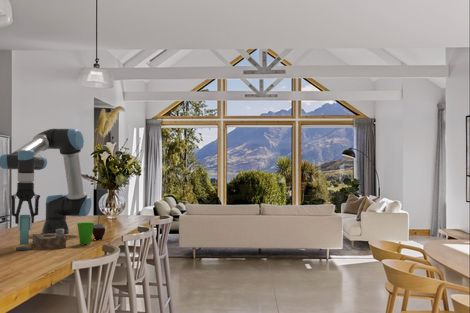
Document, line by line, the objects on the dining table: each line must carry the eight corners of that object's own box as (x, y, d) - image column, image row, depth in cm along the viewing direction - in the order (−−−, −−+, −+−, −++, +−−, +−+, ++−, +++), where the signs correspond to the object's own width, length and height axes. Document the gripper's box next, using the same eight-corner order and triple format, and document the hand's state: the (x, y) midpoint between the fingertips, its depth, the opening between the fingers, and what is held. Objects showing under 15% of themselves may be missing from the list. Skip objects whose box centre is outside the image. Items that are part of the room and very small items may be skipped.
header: (56, 242, 287) (56, 225, 287) (65, 247, 270) (66, 229, 270) (32, 243, 280) (32, 226, 281) (40, 249, 263) (41, 230, 264)
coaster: (30, 248, 266) (30, 246, 266) (33, 250, 260) (33, 248, 260) (14, 249, 262) (14, 247, 262) (17, 251, 256) (17, 249, 256)
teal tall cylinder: (28, 243, 264) (28, 214, 265) (30, 244, 260) (30, 215, 261) (18, 243, 262) (18, 214, 262) (19, 245, 258) (20, 215, 258)
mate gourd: (98, 238, 307) (99, 211, 307) (108, 239, 303) (109, 212, 303) (88, 239, 301) (89, 212, 301) (99, 240, 297) (99, 213, 297)
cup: (97, 243, 286) (98, 222, 286) (87, 245, 277) (88, 224, 277) (83, 242, 289) (83, 221, 289) (72, 244, 280) (73, 223, 280)
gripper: (42, 181, 270) (41, 228, 269) (4, 181, 260) (3, 230, 260) (46, 182, 263) (45, 230, 263) (7, 182, 254) (6, 232, 253)
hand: (24, 230), depth 261 cm, fingers closed on teal tall cylinder, 5 cm apart
